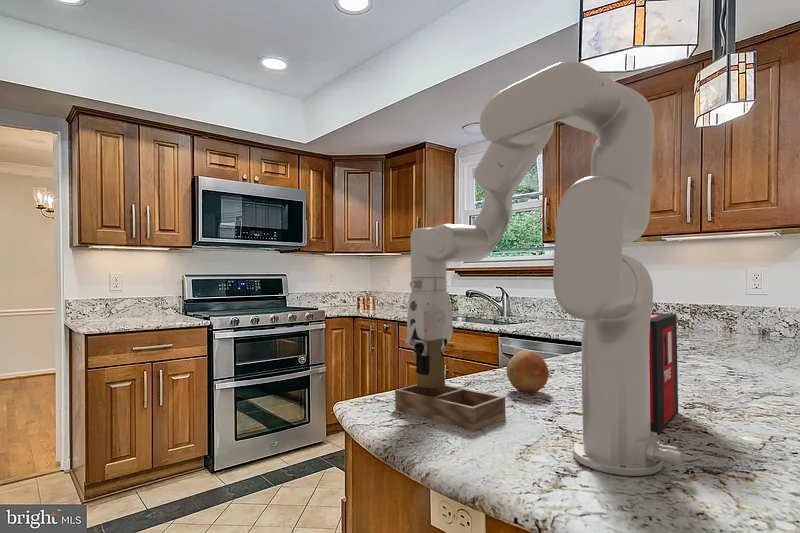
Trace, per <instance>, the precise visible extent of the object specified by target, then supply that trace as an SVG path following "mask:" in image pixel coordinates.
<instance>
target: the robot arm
mask: <svg viewBox="0 0 800 533" xmlns="http://www.w3.org/2000/svg"><path fill="white" fill-rule="evenodd" d="M558 122H561V123H563V124H565V125H567V126H570V127H573V128H576V129H579V130H582V131H585V132H589V133H592V134H594V135H596V137H597V138H596V140H595V142H594V146H593V148H592V153H591V159H590V176H586V177H584V178H581V179H579V180H577V181H576V182H574V183H573V184H572V185H570V187H569V188H568V189H567V190H566V191H565V192H564V194H563V196H562V197H561V200H560V202H559V205H558V208H557V212H556V220H555V234H554V236H555V237H554V254H553V271H552V274H553V275H552V285H553V291H554V292H553V293H554V296H555V299H556V302H557V303H558V305H559V306H560V307H561V308H560V309H562V310H563V311H564V312H565V313H566V314H567V315H569V316H571V317H572V318H576V319H578V320H583V321H584V322H583V327H582V331H581V332H582V333H581V335H582V336H581V385H582V386H581V392H582V394H581V397H582V400H581V402H582V407H581V408H582V440H579V441H577V442H576V443H574V444H573V446H572V456H573V457H574V459H575V460H576V461H577V462H579V463H580V464H582V465H583V466H586V467H588V468H590V469H593V470H595V471H600V472H603V473H607V474H611V475H617V476H625V477H626V476H628V477H629V476H630V477H638V476H639V477H641V476H642V477H643V476H648V475H649V476H650V475H652V474H653V475H654V474H657V473H658V472H660V471H661V470H662V468H664V463H665V464H668V465H673V466H677V467H682V465H683V462H684V454H683V452H681V451H679V448H678V447H676V446H673V445H667V444H662V443H661V442H660V441H659V440H658V435H657V433H655V432H651V430H650V376H649V360H650V357H649V333H650V319H651V313H652V310H653V302H654V287H653V285H654V284H653V281H652V277H651V275H650V273H649V271H648V270H647V268H646V266H645V265H643V263H641V262H640V261H639V260H638V259H636V258H635V257H632V256H630V255H627V254H623V245H626V244H630V243H633V242H634V241H636V240H638V239H640V238H641V237H642V235H643V234H644V233H645V232H646V230H647V228H648V225H649V222H650V217H651V216H650V215H651V214H650V213H651V198H652V196H651V195H652V181H653V180H652V179H653V178H652V177H653V154H654V152H653V151H654V140H655V139H654V138H655V117H654V112H653V109H652V107H651V104H650V103H649V101H648V100H647V99H646V97H645V96H644V95H642V94H641V93H640V92H638V91H637V90H635V89H634V88H631V87H629V86H627V85H624V84H622V83H619V82H617V81H615V80H613V79H612V78H610V77H609V76H607V75H605V74H603V73H601V72H599V71H598V70H596V69H594V68H593V67H591V66H590V65H587V64H586V63H583V62H581V61H576V60H567V61H562V62H561V61H560V62H557V63H555V64H553V65H551V66H548V67H546V68H544V69H542V70H540V71H538V72H536V73H533V74H532V75H529V76H528V77H526V78H523V79H521V80H520V81H518V82H515V83H514V84H512V85H510V86H508V87H506V88H504V89H502V90H501V91H499V92H498V93H496V94H495V95H494V96H493V97H492V98H490V100H489V101H487V103H486V104H485V105H484V108H483V110H482V111H481V114H480V117H479V129H480V133H481V134H482V136H483V138H485V139H486V140H487V141H489V142H490V144H489V146H488V148H487V149H486V151H485V153H484V154H483V156H482V157H481V159H480V161H479V162H478V163H477V166H476V168H475V169H474V171H473V179H474V181H475V183H476V184H477V186H479V187H480V189H482V190H483V196H484V200H483V205H482V208H481V210H480V212H479V214H478V215H477V216H476V218H475V220H474V221H473V223H472V225H470V224H455V223H454V224H453V223H445V224H444V223H443V224H440V225H439V224H438V225H436V226H433V227H419V228H415V229H413V230H412V231H411V233H410V277H411V278H410V282H409V286H410V290H411V292H410V293H409V298H408V305H407V306H408V307H407V316H406V317H407V319H406V324H407V325H406V329H407V330H406V332H407V336H406V338H405V341H404V344H405V345H406V346H407V347H410V349H412V351H413V355H415V360H416V361H415V363H416V367H415V368H416V369H415V370H416V373H417V375H418V374H423V375H428V374H429V356H427V350H428V342H429V341H435V340H438V339H443V344H442V346H441V348H440V350H441V357H442V364H443V365H444V353H445V351H446V345H447V343H448V342H449V341H450V340H451V339H452V337H453V333H454V332H453V330H454V326H453V324H454V323H453V312H452V311H453V310H452V303H451V296H450V293H449V291H448V290H447V289H448V288H447V263H460V262H466V263H467V262H468V263H469V262H471V263H472V262H473V263H474V262H479V261H482V260H483V259H485V258H487V257H488V255H489V254H491V252H492V251H493V250H494V248H495V247H496V246H497V245H498V243H499V242H500V240H501V239H502V237H503V236H504V234H505V232H506V231H507V229H508V226H509V223H510V220H511V219H510V218H511V214H512V210H513V197H514V194H515V192H516V191H517V190H518V188H519V186H520V185H521V183H522V181H523V180H524V178H525V177H526V176H527V174H528V172H529V171H530V169H531V168H532V167H533V165H534V163H535V162H536V160H537V159H538V158H539V156H540V154H541V153H542V151H543V149H544V148H545V147H546V145H547V143H548V141H549V140H550V139H551V137H552V135H553V132H554V128H555V123H558ZM419 339H422V340H419ZM420 343H422V347H421V345H420Z"/></svg>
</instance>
